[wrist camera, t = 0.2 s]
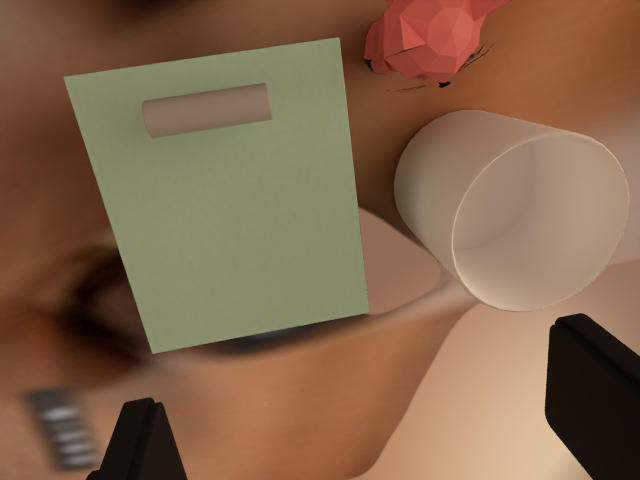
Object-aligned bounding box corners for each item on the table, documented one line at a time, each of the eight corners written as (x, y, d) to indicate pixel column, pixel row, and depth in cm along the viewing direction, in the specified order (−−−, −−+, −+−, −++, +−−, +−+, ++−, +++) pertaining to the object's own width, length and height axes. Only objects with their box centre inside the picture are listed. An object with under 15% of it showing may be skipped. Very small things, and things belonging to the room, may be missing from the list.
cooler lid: (67, 76, 26) (26, 80, 21) (337, 37, 27) (356, 33, 22) (154, 347, 32) (137, 398, 28) (367, 307, 34) (386, 348, 29)
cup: (538, 109, 38) (654, 131, 27) (513, 243, 43) (606, 308, 32) (398, 108, 37) (462, 131, 26) (387, 247, 41) (438, 317, 30)
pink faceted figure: (364, 99, 36) (415, 118, 25) (330, 8, 34) (370, -16, 23) (449, 60, 36) (537, 62, 25) (421, -35, 33) (506, -80, 22)
